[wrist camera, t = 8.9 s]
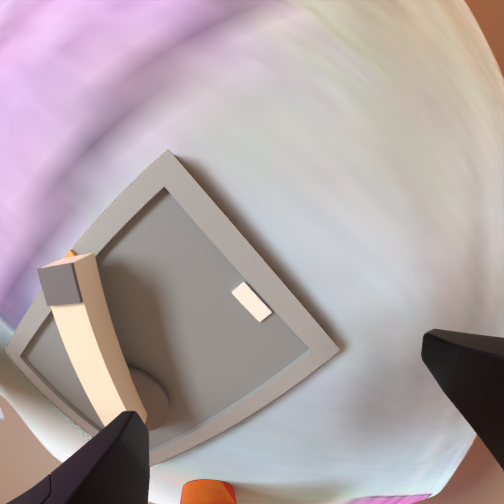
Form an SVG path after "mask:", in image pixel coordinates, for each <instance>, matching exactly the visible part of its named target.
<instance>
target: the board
mask: <svg viewBox="0 0 504 504" xmlns="http://www.w3.org/2000/svg"><path fill="white" fill-rule="evenodd" d="M88 253H95V258H96V263H97V268H98V272H99V276H100V280H101V285H102V289H103V292H104V296H105V300H106V303H107V307H108V310H109V314H110V317H111V321H112V324H113V327H114V330H115V333H116V336H117V339H118V342H119V345H120V348H121V351H122V353H123V356H124V359H125V362H126V364H127V365H128V366H132V367H135V368H138V369H140V370H142V371H144V372H146V373H148V374H149V375H151V376H152V377H154V378H155V379H156V380H157V381H158V382H159V383H160V384H161V385H162V386H163V387H164V389H165V390H166V392H167V394H168V396H169V400H170V408H169V413H168V418H167V420H166V422H165V423H164V424H163V425H162V426H161V427H159V428H158V429H155V430H152V431H149V461H150V467H151V466H153V465H156V464H158V463H160V462H163V461H165V460H167V459H170V458H172V457H174V456H176V455H178V454H180V453H182V452H185V451H187V450H189V449H191V448H193V447H195V446H197V445H199V444H201V443H202V442H204V441H206V440H208V439H210V438H212V437H214V436H216V435H217V434H219V433H221V432H223V431H225V430H226V429H228V428H230V427H232V426H233V425H235V424H237V423H238V422H240V421H242V420H243V419H245V418H247V417H248V416H250V415H251V414H253V413H255V412H256V411H258V410H259V409H261V408H262V407H264V406H266V405H267V404H269V403H270V402H272V401H273V400H275V399H276V398H278V397H279V396H280V395H282V394H283V393H285V392H286V391H288V390H289V389H290V388H292V387H293V386H295V385H296V384H297V383H299V382H300V381H301V380H303V379H304V378H306V377H307V376H308V375H310V374H311V373H312V372H313V371H315V370H316V369H317V368H319V367H320V366H321V365H322V364H324V363H325V362H326V361H327V360H329V359H330V358H331V357H332V356H334V355H335V354H336V353H337V352H338V351H340V349H339V348H338V347H337V345H336V344H335V343H334V342H333V340H332V339H331V338H330V337H329V336H328V334H327V333H326V332H325V331H324V330H323V328H322V327H321V326H320V325H319V324H318V323H317V321H316V320H315V319H314V318H313V317H312V316H311V314H310V313H309V312H308V311H307V310H306V308H305V307H304V306H303V305H302V304H301V303H300V301H299V300H298V299H297V298H296V297H295V296H294V294H293V293H292V292H291V291H290V290H289V289H288V287H287V286H286V285H285V284H284V283H283V282H282V280H281V279H280V278H279V277H278V276H277V275H276V273H275V272H274V271H273V270H272V269H271V268H270V266H269V265H268V264H267V263H266V262H265V261H264V259H263V258H262V257H261V256H260V255H259V254H258V252H257V251H256V250H255V249H254V248H253V247H252V245H251V244H250V243H249V242H248V241H247V240H246V238H245V237H244V236H243V235H242V234H241V233H240V231H239V230H238V229H237V228H236V227H235V226H234V224H233V223H232V222H231V221H230V220H229V219H228V217H227V216H226V215H225V214H224V213H223V212H222V210H221V209H220V208H219V207H218V206H217V205H216V203H215V202H214V201H213V200H212V199H211V198H210V197H209V195H208V194H207V193H206V192H205V191H204V190H203V188H202V187H201V186H200V185H199V184H198V183H197V181H196V180H195V179H194V178H193V177H192V176H191V174H190V173H189V172H188V171H187V170H186V169H185V168H184V166H183V165H182V164H181V163H180V162H179V161H178V159H177V158H176V157H175V156H174V155H173V154H172V153H171V152H170V151H169V150H166V151H165V152H164V153H163V154H162V155H161V156H160V157H159V158H157V159H156V160H155V161H154V162H153V163H152V164H151V165H150V166H149V167H148V168H147V169H145V170H144V171H143V172H142V173H141V174H140V175H139V176H138V177H137V178H136V179H135V180H134V181H133V182H132V183H131V184H130V185H129V186H128V187H127V188H126V189H125V190H124V191H123V192H122V193H121V194H120V195H119V196H118V197H117V198H116V199H115V200H114V201H113V202H112V203H111V204H110V205H109V206H108V208H107V209H106V210H105V211H104V212H103V213H102V214H101V215H100V216H99V217H98V219H97V220H96V221H95V222H94V223H93V224H92V225H91V226H90V228H89V229H88V230H87V231H86V232H85V233H84V235H83V236H82V237H81V238H80V239H79V241H78V242H77V243H76V244H75V245H74V247H73V248H72V249H71V250H70V251H69V252H68V253H67V255H66V256H65V257H64V258H66V257H72V256H77V255H83V254H88ZM5 352H6V354H7V355H8V356H9V357H10V359H11V360H12V361H13V362H14V363H15V365H16V366H17V367H18V368H19V369H20V370H21V371H22V373H23V374H24V375H25V376H26V377H27V378H28V379H29V380H30V381H31V382H32V383H33V384H34V386H35V387H36V388H37V389H38V390H39V391H40V392H41V393H42V394H43V395H44V396H45V397H46V398H48V399H49V400H50V401H51V402H52V403H53V404H54V405H55V406H56V407H57V408H58V409H59V410H60V411H62V412H63V413H64V414H65V415H66V416H67V417H69V418H70V419H71V420H72V421H73V422H74V423H76V424H77V425H78V426H79V427H81V428H82V429H83V430H84V431H86V432H87V433H88V434H90V435H91V436H92V437H94V436H95V435H96V434H98V433H99V432H100V431H101V430H102V429H103V428H104V427H105V426H104V424H103V423H102V421H101V419H100V418H99V416H98V414H97V412H96V411H95V409H94V407H93V405H92V403H91V402H90V400H89V398H88V396H87V394H86V392H85V390H84V388H83V386H82V384H81V382H80V380H79V378H78V376H77V374H76V371H75V369H74V367H73V365H72V363H71V360H70V358H69V355H68V353H67V351H66V348H65V346H64V343H63V341H62V338H61V335H60V333H59V330H58V327H57V324H56V321H55V318H54V315H53V312H52V309H51V306H47V304H46V300H45V297H44V293H43V290H41V291H40V292H39V294H38V295H37V297H36V298H35V300H34V301H33V303H32V305H31V306H30V308H29V309H28V311H27V312H26V314H25V316H24V317H23V319H22V321H21V322H20V324H19V326H18V327H17V329H16V331H15V332H14V334H13V336H12V338H11V340H10V341H9V343H8V345H7V347H6V349H5Z"/></svg>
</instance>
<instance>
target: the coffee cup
mask: <svg viewBox="0 0 504 504" xmlns="http://www.w3.org/2000/svg"><path fill="white" fill-rule="evenodd" d="M180 504H237V502H236V497H235V493H234V489H233V487H232V486H231V485H229V484H227V483H225V482H222V481H217V480H209V479H201V480H193V481H190V482H187V483H186V484H185V485H184V486H183V489H182V495H181V502H180Z"/></svg>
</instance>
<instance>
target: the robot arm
mask: <svg viewBox="0 0 504 504" xmlns="http://www.w3.org/2000/svg"><path fill="white" fill-rule="evenodd" d="M421 356H422V360H423V362H424V363H425V365H426V366H427V368H428V369H429V371H430V372H431V374H432V375H433V377H434V378H435V380H436V381H437V383H438V384H439V386H440V387H441V389H442V390H443V392H444V393H445V394H446V395H447V397H448V398H449V399H450V400H451V402H452V403H453V404H454V405H455V407H456V408H457V409H458V410H459V412H460V413H461V414H462V415H463V417H464V418H465V419H466V420H467V422H468V423H469V424H470V426H471V427H472V428H473V429H474V431H475V432H476V433H477V435H478V436H479V437H480V439H481V440H482V441H483V443H484V444H485V445H486V447H487V448H488V449H489V451H490V452H491V454H492V455H493V456H494V458H495V459H496V461H497V462H498V463H499V465H500V466H501V468H502V469H503V471H504V338H501V337H492V336H484V335H476V334H468V333H461V332H454V331H447V330H440V329H432V330H430V331H428V332H426V333H425V334H424V336H423V343H422V352H421ZM149 479H150V461H149V431H148V429H147V427H146V425H145V424H144V422H143V421H142V419H141V417H140V416H139V414H138V413H137V412H136V411H123V412H121V413H120V414H119V415H118V416H117V417H116V418H115V419H113V420H112V421H111V422H110V423H109V424H108V425H107V426H106V427H104V428H103V429H102V430H101V431H100V432H99V433H98V434H96V435H95V436H94V437H93V438H92V439H91V440H89V441H88V442H87V443H86V444H85V445H84V446H82V447H81V448H80V449H79V450H78V451H77V452H75V453H74V454H73V455H72V456H71V457H69V458H68V459H67V460H66V461H65V462H64V463H62V464H61V465H60V466H59V467H57V468H56V469H55V470H54V471H53V472H51V474H49V475H48V476H46V477H45V478H44V479H43V480H42V481H40V482H39V483H38V484H36V485H35V486H34V487H32V488H31V489H29V490H28V491H26V492H25V493H23V494H22V495H20V496H18V497H17V498H15V499H13V500H12V501H10V502H8V503H7V504H148V491H149Z"/></svg>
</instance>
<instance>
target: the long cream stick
mask: <svg viewBox="0 0 504 504" xmlns="http://www.w3.org/2000/svg"><path fill="white" fill-rule="evenodd" d="M37 270H38V274H39V278H40V282H41V286H42V290H43V293H44V297H45V300H46V304H47V306H51V309H52V312H53V315H54V318H55V321H56V324H57V327H58V330H59V333H60V335H61V338H62V341H63V343H64V346H65V348H66V351H67V353H68V355H69V358H70V360H71V363H72V365H73V367H74V369H75V371H76V374H77V376H78V378H79V380H80V382H81V384H82V386H83V388H84V390H85V392H86V394H87V396H88V398H89V400H90V402H91V403H92V405H93V407H94V409H95V411H96V412H97V414H98V416H99V418H100V419H101V421H102V423H103V424H104V426H105V427H106V426H107V425H108V424H109V423H110V422H111V421H112V420H113V419H115V418H116V417H117V416H118V415H119V414H120V413H121V412H123V411H136V412H137V413H138V414H139V416H140V417H141V419H142V421H143V422H144V424H145V425H146V427H147V429H148V431H152V430H155V429H158V428H159V427H161V426H162V425H163V424H164V423H165V422H166V420H167V418H168V413H169V408H170V400H169V396H168V394H167V392H166V390H165V389H164V387H163V386H162V385H161V384H160V383H159V382H158V381H157V380H156V379H155V378H154V377H152V376H151V375H149V374H148V373H146V372H144V371H142V370H140V369H138V368H135V367H132V366H128V365H127V364H126V362H125V359H124V356H123V353H122V351H121V348H120V345H119V342H118V339H117V336H116V333H115V330H114V327H113V324H112V321H111V317H110V314H109V310H108V307H107V303H106V300H105V296H104V292H103V289H102V285H101V280H100V276H99V272H98V268H97V263H96V258H95V253H88V254H83V255H77V256H72V257H66V258H62V259H60V260H57V261H55V262H53V263H51V264H48V265H46V266H44V267H42V268H40V269H37Z"/></svg>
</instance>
